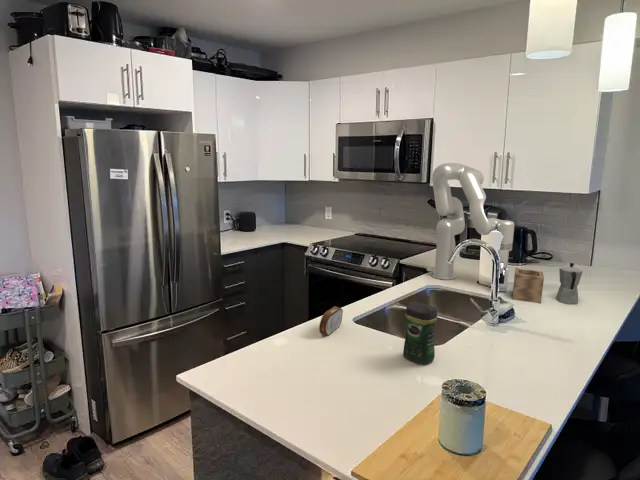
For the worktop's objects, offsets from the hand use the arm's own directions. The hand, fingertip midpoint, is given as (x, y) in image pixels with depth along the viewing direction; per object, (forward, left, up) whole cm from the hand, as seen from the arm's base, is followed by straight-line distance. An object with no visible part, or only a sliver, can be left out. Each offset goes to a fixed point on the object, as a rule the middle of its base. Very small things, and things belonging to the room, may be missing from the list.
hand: (500, 280), depth 213 cm
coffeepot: (+29, -4, -5) cm, 29 cm away
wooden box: (+12, -6, -5) cm, 14 cm away
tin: (-56, -81, -5) cm, 98 cm away
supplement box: (0, 0, -5) cm, 5 cm away
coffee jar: (-22, -89, -5) cm, 92 cm away
